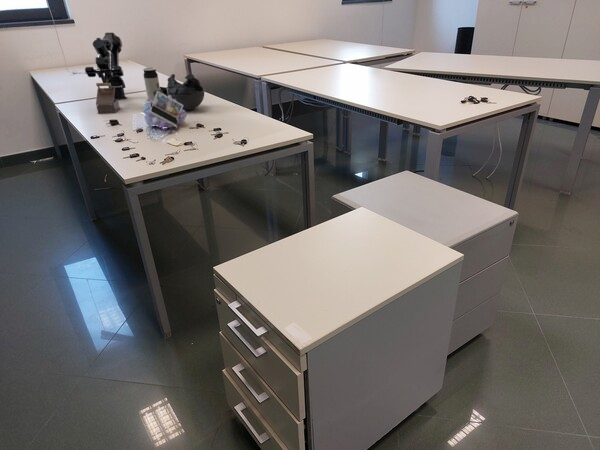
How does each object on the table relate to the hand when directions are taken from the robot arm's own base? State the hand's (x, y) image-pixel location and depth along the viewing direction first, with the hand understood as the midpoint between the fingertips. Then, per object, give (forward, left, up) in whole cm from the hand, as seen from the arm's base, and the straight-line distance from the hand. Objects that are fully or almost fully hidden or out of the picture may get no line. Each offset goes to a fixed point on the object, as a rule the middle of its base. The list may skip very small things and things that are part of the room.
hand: (104, 84), depth 228 cm
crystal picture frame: (-4, +51, -14) cm, 53 cm away
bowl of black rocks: (-29, +33, -14) cm, 46 cm away
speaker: (-24, +15, -14) cm, 32 cm away
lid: (+2, +2, -5) cm, 6 cm away
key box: (+2, +2, -13) cm, 14 cm away
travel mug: (-29, -2, -14) cm, 32 cm away
